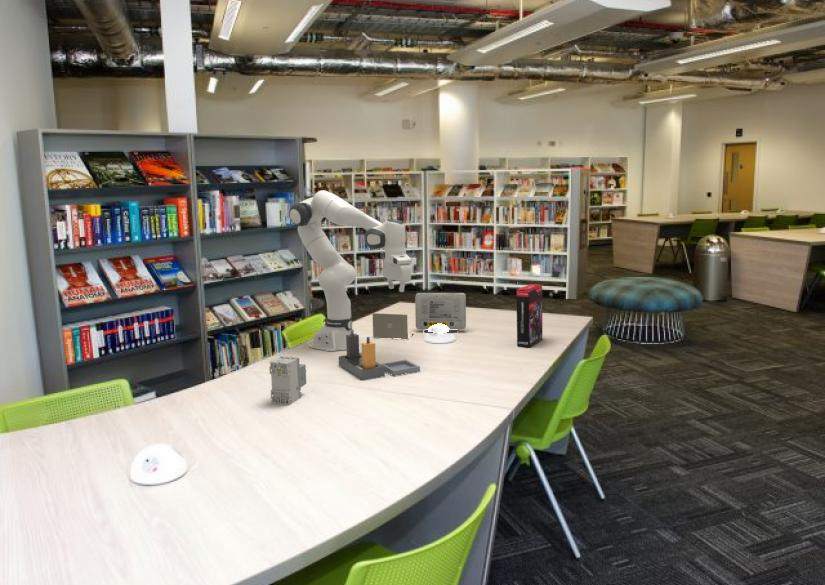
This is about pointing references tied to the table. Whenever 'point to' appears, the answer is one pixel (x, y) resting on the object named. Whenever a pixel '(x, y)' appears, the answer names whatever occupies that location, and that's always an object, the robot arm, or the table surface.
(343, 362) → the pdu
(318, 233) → the robot arm
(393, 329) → the laptop
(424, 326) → the network device
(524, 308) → the graphics card box
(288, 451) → the table surface
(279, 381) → the circuit breaker
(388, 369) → the tray
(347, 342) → the twin plug
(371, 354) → the plug
